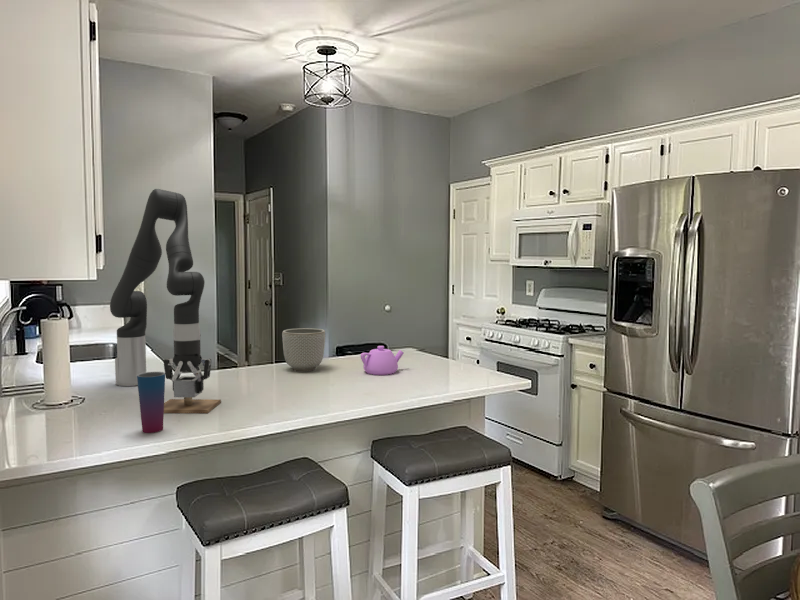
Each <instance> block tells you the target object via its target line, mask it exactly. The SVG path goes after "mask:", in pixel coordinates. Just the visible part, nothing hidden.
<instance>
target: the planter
mask: <svg viewBox="0 0 800 600" xmlns="http://www.w3.org/2000/svg"><path fill="white" fill-rule="evenodd" d="M281 336H282V349H283V357H284V360H285V362H286V364H287V365H288V366H290V367H291V368H292V370H293V371H295V372H299V373H300V372H302V373H306V372H312V371H315V370H316V368H317V367H318V366H319V365H320V364H322V362H323V359H324V355H325V346H326V345H325V344H326V330H325V329H322V328H311V327H305V328H303V327H301V328H300V327H299V328H297V327H296V328H287V329H284V330H283V331H282V333H281Z"/></svg>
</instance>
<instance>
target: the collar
mask: <svg viewBox="0 0 800 600" xmlns="http://www.w3.org/2000/svg"><path fill="white" fill-rule="evenodd" d="M197 381H198V380H197V378H196V377H195V375H194V376H192V375H191V376H188V375H187V376H185V375H184V376H182V375H180V377H179V378H178V379H176V380H174V381H173V382H174V391H173V397H174V398H184V397H192V398H196V397H198V396H199V395H201V394H202V393H203V391H202V392H201V393H197ZM173 382H172V383H173Z"/></svg>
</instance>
